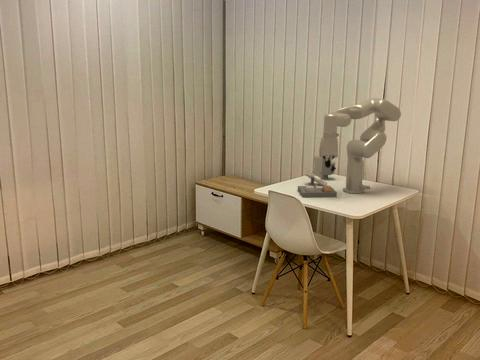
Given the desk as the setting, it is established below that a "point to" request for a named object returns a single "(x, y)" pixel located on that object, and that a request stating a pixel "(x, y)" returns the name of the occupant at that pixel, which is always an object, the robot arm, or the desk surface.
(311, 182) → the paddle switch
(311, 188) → the grey button
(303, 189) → the dark grey tray
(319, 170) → the circuit breaker
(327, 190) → the copper button
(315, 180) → the pale slanted lever
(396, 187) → the desk surface
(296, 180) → the desk surface
